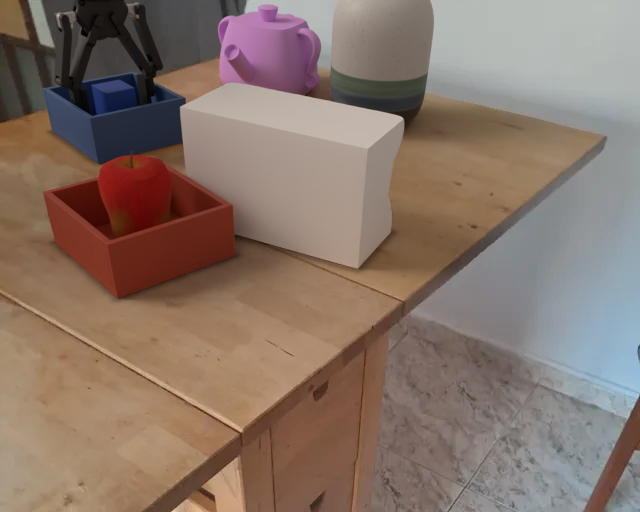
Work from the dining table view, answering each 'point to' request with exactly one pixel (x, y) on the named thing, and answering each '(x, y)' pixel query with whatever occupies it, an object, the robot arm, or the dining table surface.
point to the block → (113, 96)
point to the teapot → (269, 51)
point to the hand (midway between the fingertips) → (118, 124)
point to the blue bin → (116, 121)
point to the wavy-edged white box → (295, 168)
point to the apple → (135, 193)
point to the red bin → (142, 235)
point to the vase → (381, 54)
